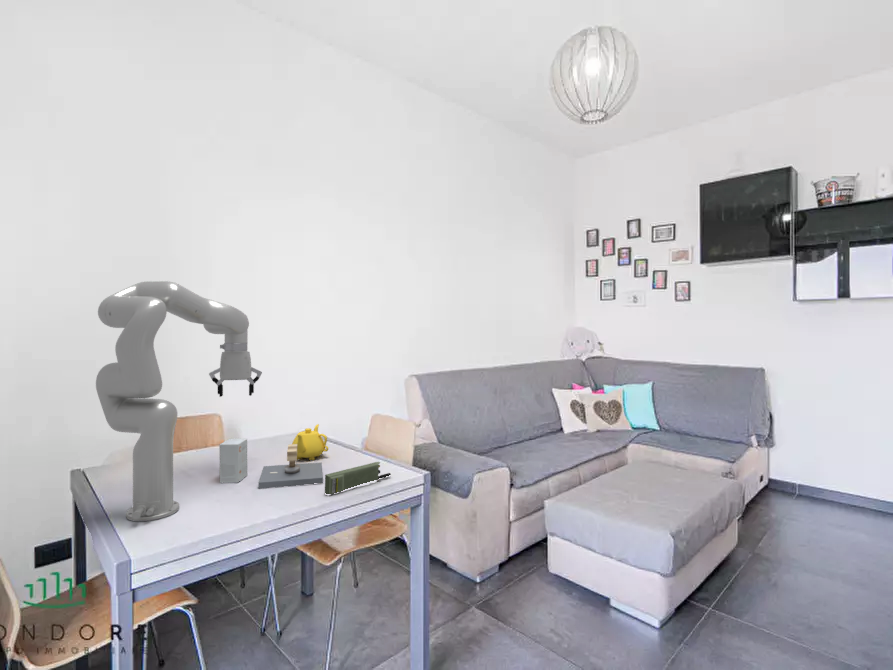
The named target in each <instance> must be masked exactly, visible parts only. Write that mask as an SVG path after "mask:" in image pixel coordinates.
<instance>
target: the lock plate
mask: <svg viewBox="0 0 893 670" xmlns="http://www.w3.org/2000/svg"><path fill="white" fill-rule="evenodd" d="M295 464H296V465H300V471H299V472H296V473H285V466H287V465H288V464H279V465H277V464H276V465H264V466H263V467H262V470H261V474H260V477H259V480H258V482H257V483H258V487H257V489H258V488H263V489H270V488H269V487H275V488H284V486H288V487H297V486H296V485H300V486H305V485H304V484H313V485H315V484H314V483H323V484H324V474H323V465H322V464H323V463H322V462H309V463H306V462H305V463H295Z"/></svg>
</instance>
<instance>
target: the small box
mask: <svg viewBox="0 0 893 670" xmlns="http://www.w3.org/2000/svg"><path fill="white" fill-rule="evenodd" d="M245 476H246V477H247V476H248V438H228V439H227V440H224V441H223V442H222V443H220V444H219V484H232V483H231V482H239V481H240V482H241V481H243V479H244V477H245ZM246 477H245V478H246ZM222 482H223V483H222ZM228 482H229V483H228ZM240 482H239V483H240Z"/></svg>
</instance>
